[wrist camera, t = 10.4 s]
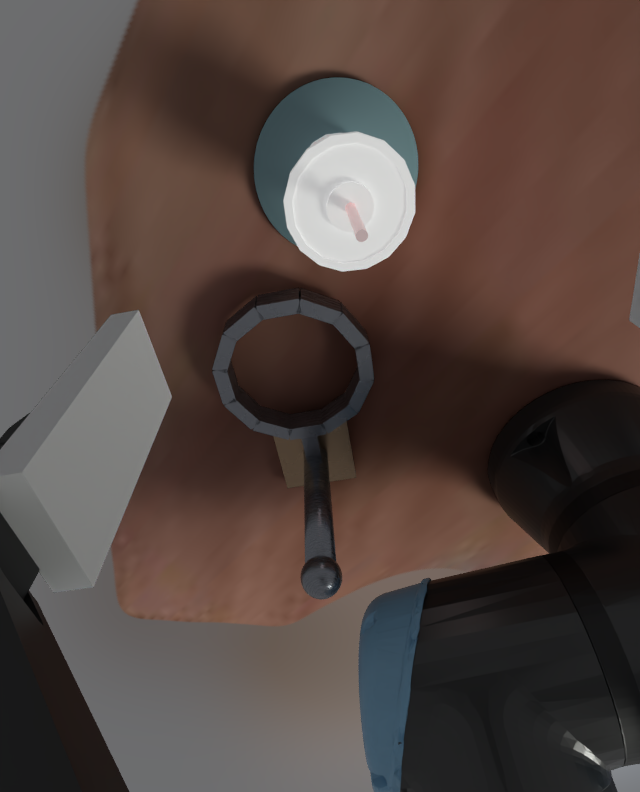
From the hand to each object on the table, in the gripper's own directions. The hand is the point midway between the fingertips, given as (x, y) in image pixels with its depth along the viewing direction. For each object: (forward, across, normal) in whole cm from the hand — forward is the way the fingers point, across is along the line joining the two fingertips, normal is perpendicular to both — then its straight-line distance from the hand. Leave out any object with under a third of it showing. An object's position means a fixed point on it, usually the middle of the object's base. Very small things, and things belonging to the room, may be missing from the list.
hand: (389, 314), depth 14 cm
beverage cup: (+21, 0, -1) cm, 21 cm away
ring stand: (+22, +5, +15) cm, 27 cm away
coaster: (+21, 0, -1) cm, 21 cm away
